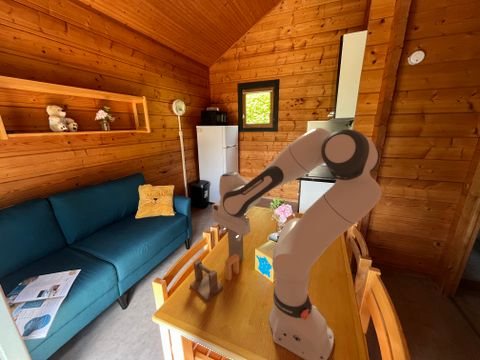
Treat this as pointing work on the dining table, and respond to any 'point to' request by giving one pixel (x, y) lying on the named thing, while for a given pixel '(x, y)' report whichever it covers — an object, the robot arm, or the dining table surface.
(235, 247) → the thermos bottle
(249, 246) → the dining table surface
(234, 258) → the cord bight
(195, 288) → the hook rail
